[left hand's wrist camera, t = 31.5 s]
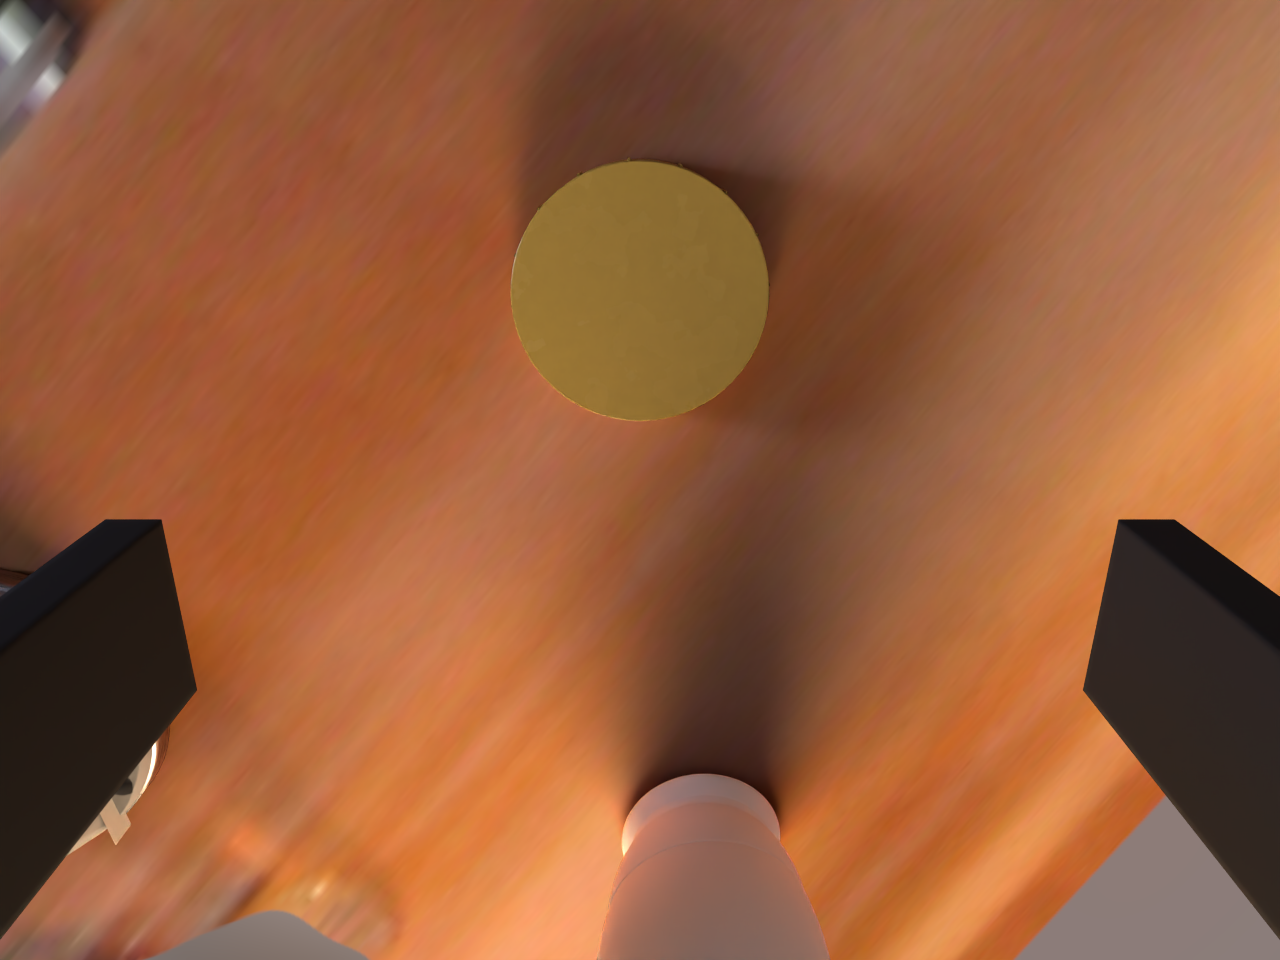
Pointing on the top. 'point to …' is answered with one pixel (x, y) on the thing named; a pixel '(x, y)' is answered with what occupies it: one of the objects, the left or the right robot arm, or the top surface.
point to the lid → (639, 290)
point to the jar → (707, 880)
